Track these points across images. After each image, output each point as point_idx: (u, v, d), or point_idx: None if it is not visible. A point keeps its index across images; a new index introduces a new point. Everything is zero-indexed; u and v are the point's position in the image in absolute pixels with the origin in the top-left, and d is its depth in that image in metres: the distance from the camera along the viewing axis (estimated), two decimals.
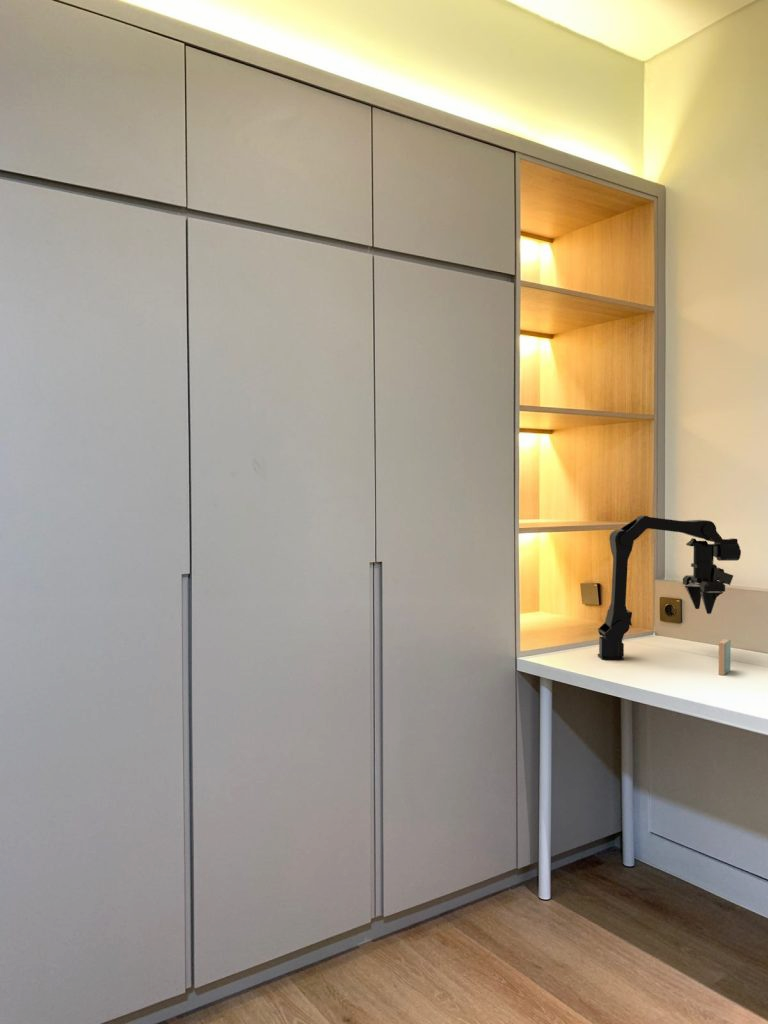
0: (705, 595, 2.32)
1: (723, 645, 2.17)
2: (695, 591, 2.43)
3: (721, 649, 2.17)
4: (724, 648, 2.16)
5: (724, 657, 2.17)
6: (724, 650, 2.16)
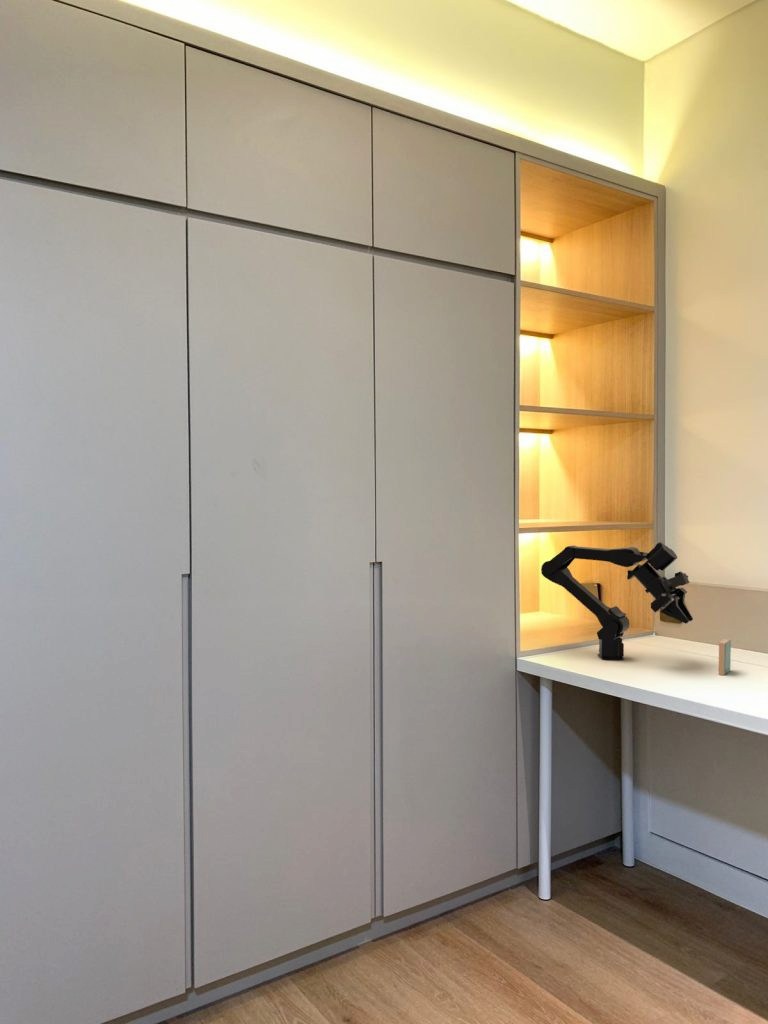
0: (666, 612, 2.25)
1: (723, 645, 2.17)
2: None
3: (721, 649, 2.17)
4: (724, 648, 2.16)
5: (724, 657, 2.17)
6: (724, 650, 2.16)
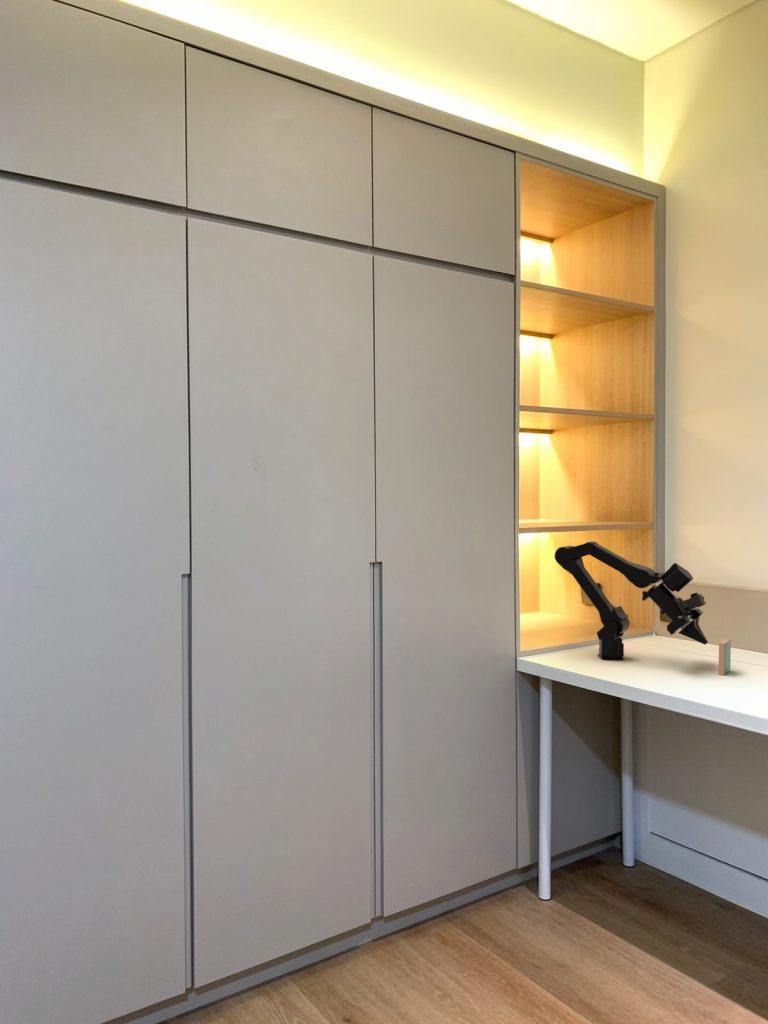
0: (685, 632, 2.24)
1: (723, 645, 2.17)
2: None
3: (721, 649, 2.17)
4: (724, 648, 2.16)
5: (724, 657, 2.17)
6: (724, 650, 2.16)
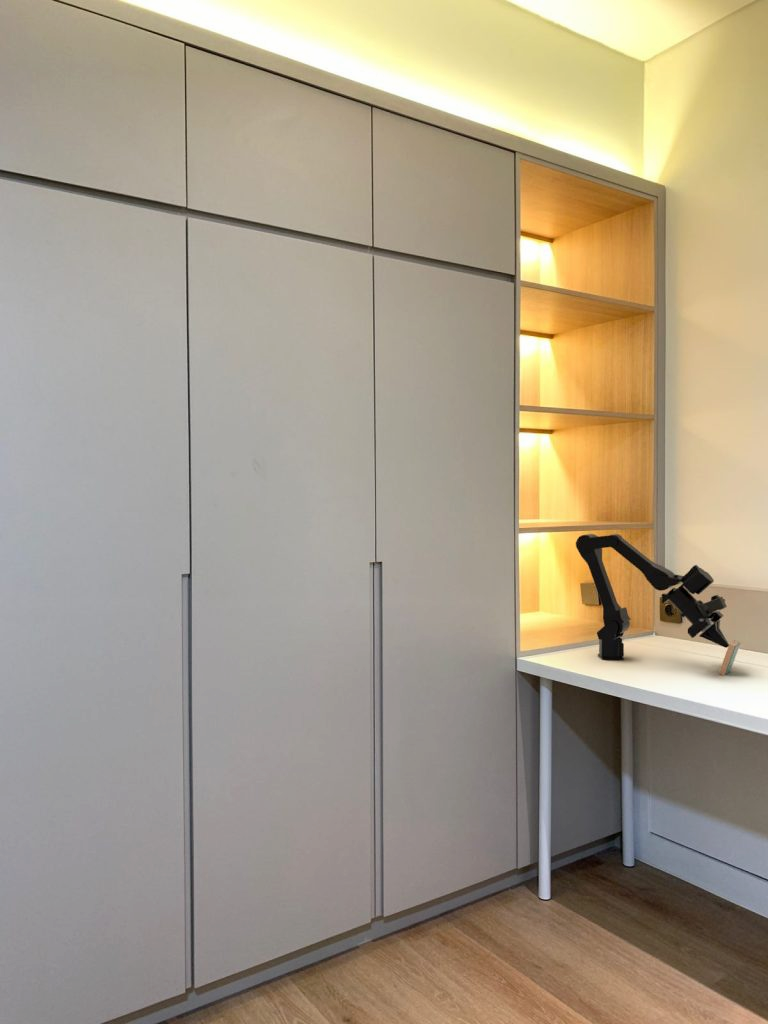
0: (705, 636, 2.21)
1: (733, 647, 2.15)
2: None
3: (729, 650, 2.16)
4: (733, 650, 2.15)
5: (730, 658, 2.16)
6: (732, 652, 2.15)
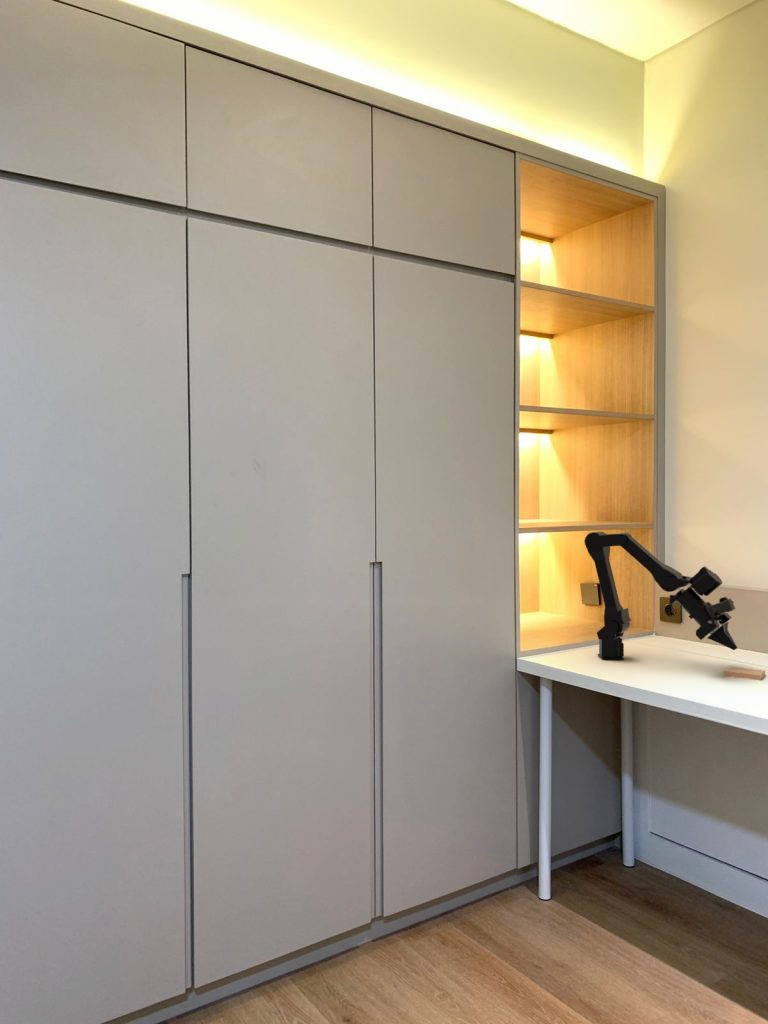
0: (713, 638, 2.19)
1: (757, 679, 2.12)
2: None
3: (753, 677, 2.12)
4: None
5: None
6: None
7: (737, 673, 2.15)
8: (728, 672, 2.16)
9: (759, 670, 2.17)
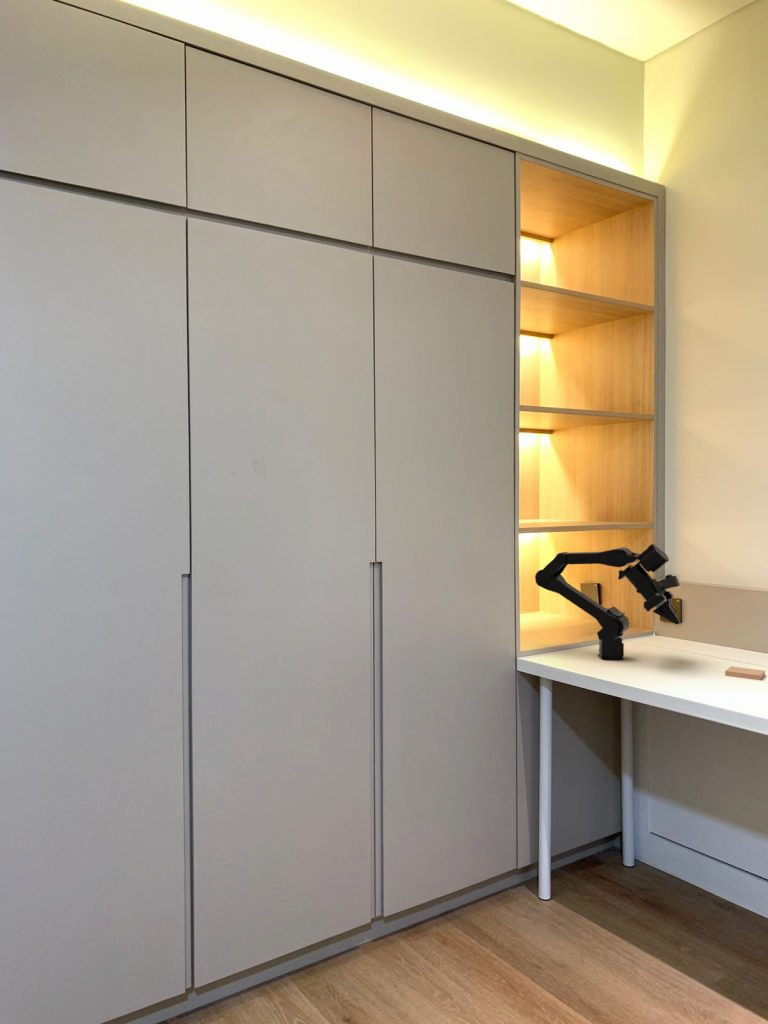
0: (658, 612, 2.29)
1: (757, 679, 2.12)
2: None
3: (753, 677, 2.12)
4: None
5: None
6: None
7: (737, 673, 2.15)
8: (728, 672, 2.16)
9: (759, 670, 2.17)
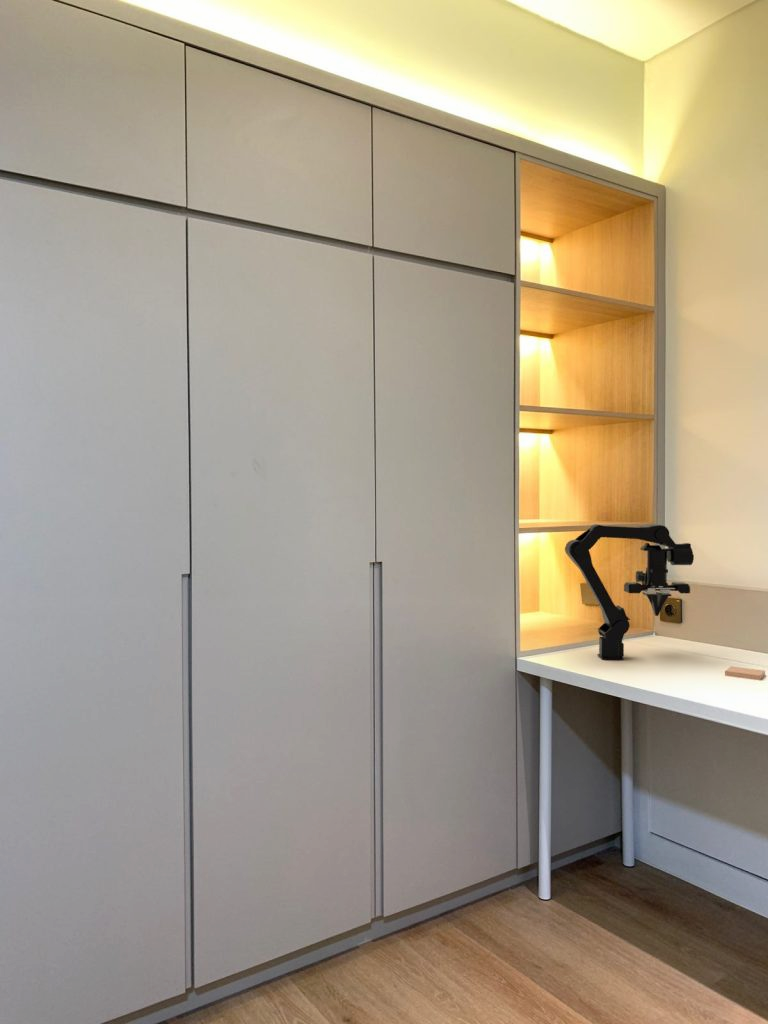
0: None
1: (757, 679, 2.12)
2: None
3: (752, 677, 2.12)
4: None
5: None
6: None
7: (737, 673, 2.15)
8: (728, 672, 2.16)
9: (759, 670, 2.17)
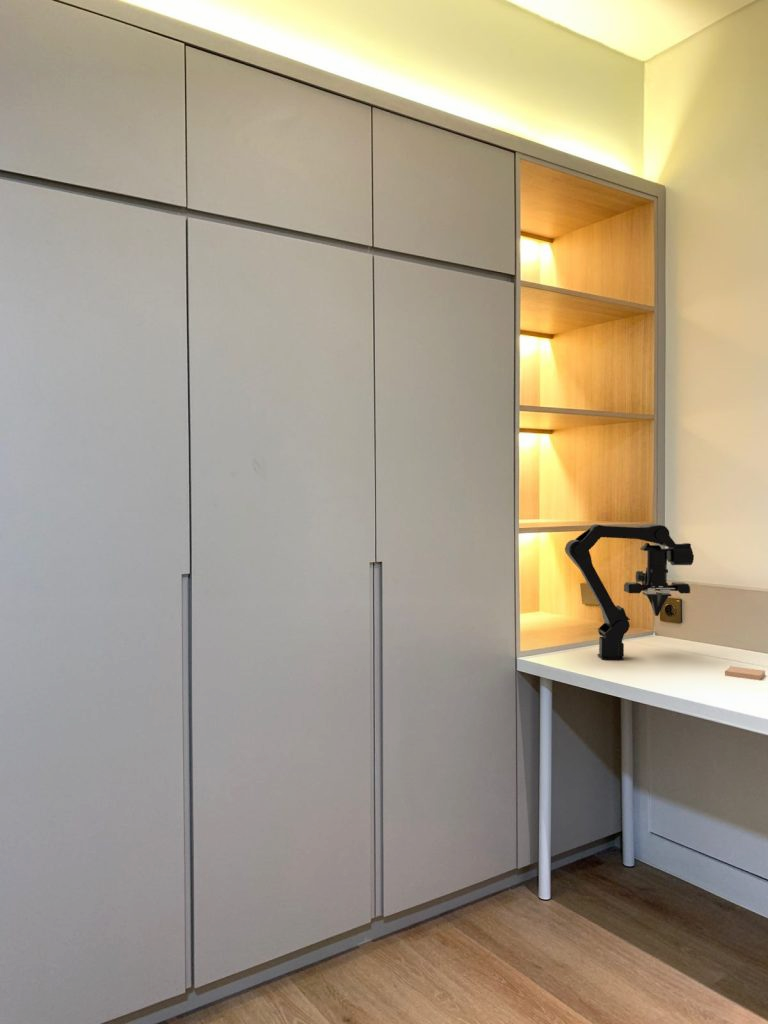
0: None
1: (757, 679, 2.12)
2: None
3: (752, 677, 2.12)
4: None
5: None
6: None
7: (737, 673, 2.15)
8: (728, 672, 2.16)
9: (759, 670, 2.17)
